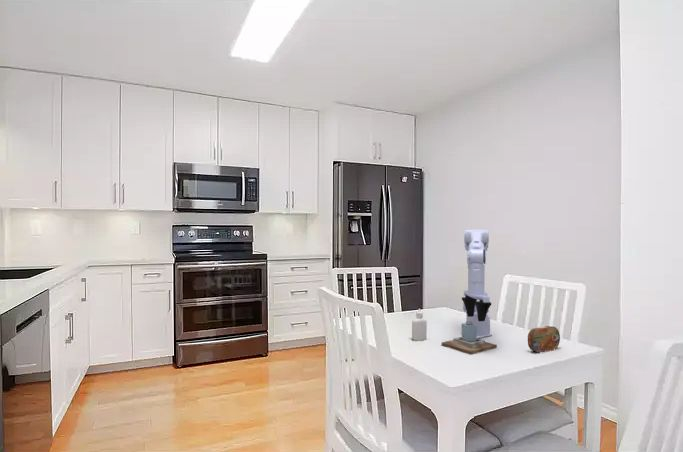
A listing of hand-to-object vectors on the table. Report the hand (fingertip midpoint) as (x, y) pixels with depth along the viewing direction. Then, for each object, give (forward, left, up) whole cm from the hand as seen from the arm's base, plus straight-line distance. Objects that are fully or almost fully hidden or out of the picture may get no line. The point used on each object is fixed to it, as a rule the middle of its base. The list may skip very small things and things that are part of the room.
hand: (475, 318), depth 147 cm
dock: (+1, -2, -10) cm, 11 cm away
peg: (+1, -2, -9) cm, 10 cm away
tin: (-18, +15, -11) cm, 26 cm away
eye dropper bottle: (+10, -18, -11) cm, 24 cm away
